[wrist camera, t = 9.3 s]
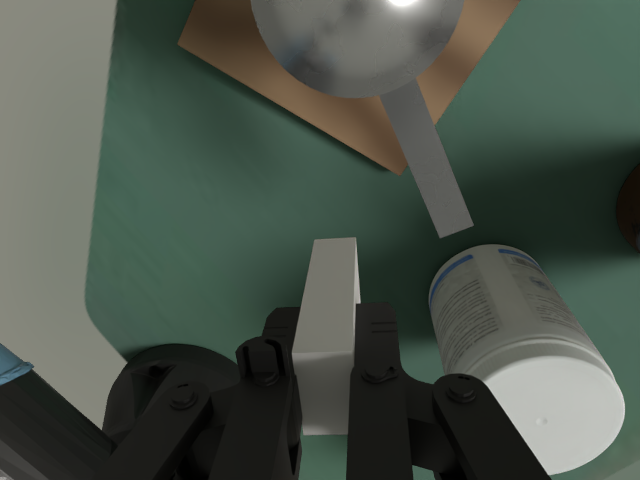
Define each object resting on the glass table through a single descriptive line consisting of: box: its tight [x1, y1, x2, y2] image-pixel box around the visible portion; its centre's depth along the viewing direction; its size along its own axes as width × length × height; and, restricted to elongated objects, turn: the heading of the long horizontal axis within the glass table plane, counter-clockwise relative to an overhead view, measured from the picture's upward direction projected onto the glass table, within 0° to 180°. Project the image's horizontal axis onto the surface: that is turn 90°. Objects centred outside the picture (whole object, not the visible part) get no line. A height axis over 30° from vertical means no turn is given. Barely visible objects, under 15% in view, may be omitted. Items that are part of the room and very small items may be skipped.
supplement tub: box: [429, 244, 625, 475], centre depth 36 cm, size 10×10×15 cm
